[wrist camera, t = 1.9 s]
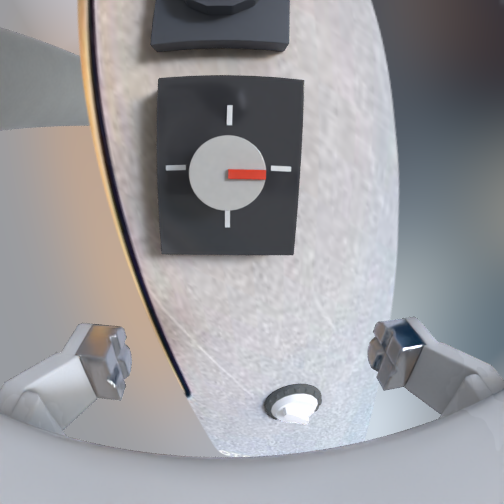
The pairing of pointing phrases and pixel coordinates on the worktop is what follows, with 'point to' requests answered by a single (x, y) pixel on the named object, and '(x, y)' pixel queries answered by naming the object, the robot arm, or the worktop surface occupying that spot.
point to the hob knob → (227, 172)
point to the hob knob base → (236, 124)
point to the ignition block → (220, 24)
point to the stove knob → (293, 403)
